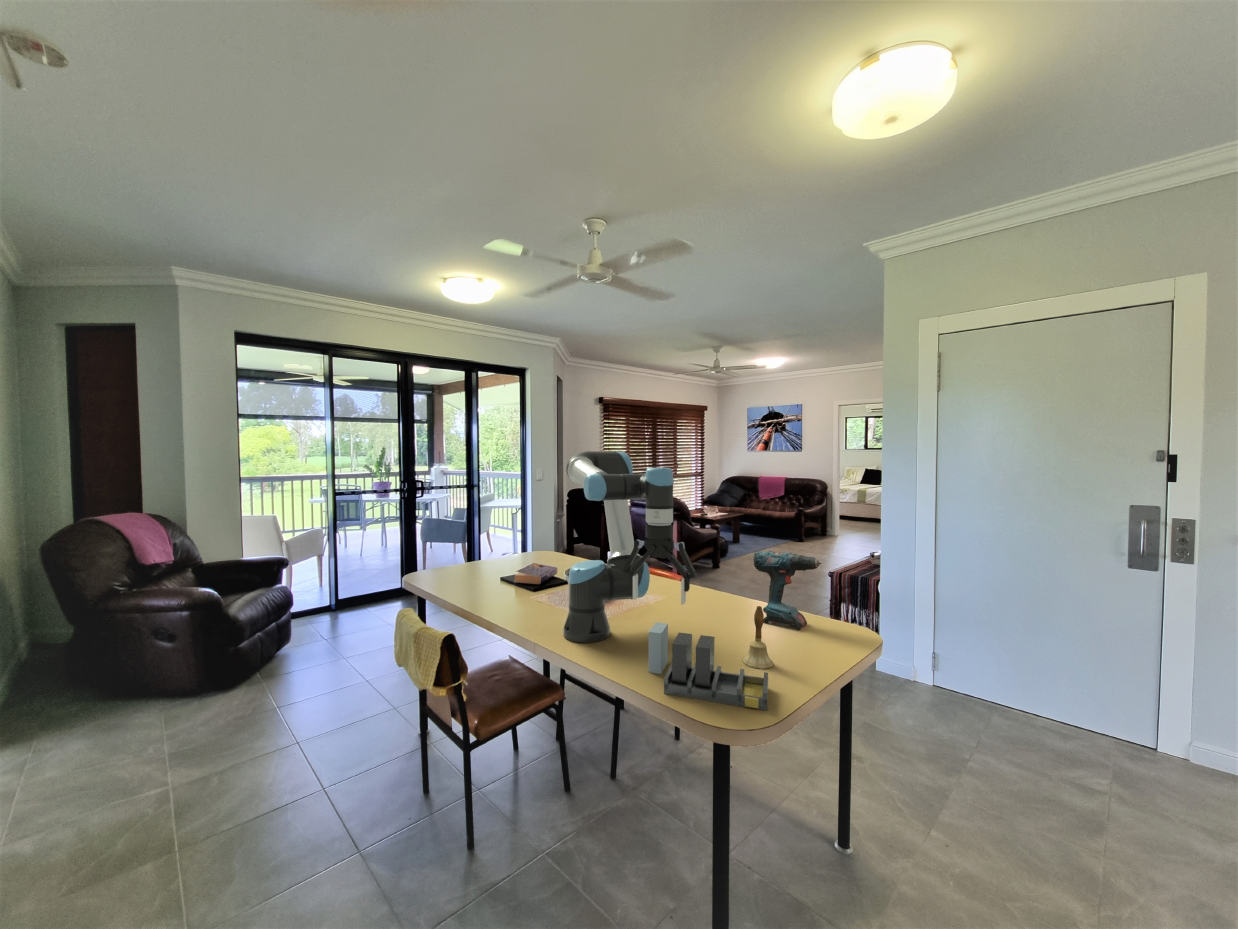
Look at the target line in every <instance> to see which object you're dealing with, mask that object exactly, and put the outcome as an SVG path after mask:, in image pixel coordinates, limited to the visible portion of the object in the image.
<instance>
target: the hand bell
mask: <svg viewBox="0 0 1238 929" xmlns="http://www.w3.org/2000/svg"><path fill="white" fill-rule="evenodd" d="M753 616H754V618H753V620H754V621H753V622H754V626H755V636H754V640H753V641H751V642H750V643H749V649H748V653H747V654H746V656H744V657H743V659H742V663H743V664H744V665H746V666H748V667H750V668H754V669H758V670H760V669H762V670H763V669H764V670H765V669H770V668H772V667H773V666H774V662H773V660H772V659H771V658H770V656H769V652H768V648H767V647H768V646H767V644H766V643H765V642H764V641H762V629H763V626H764V625H763V624H764V623H763V621H764V618H765V616H764V611H763V607H762V605H761V606H760V605H757V606H756V609H755V612H754V614H753Z"/></svg>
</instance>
